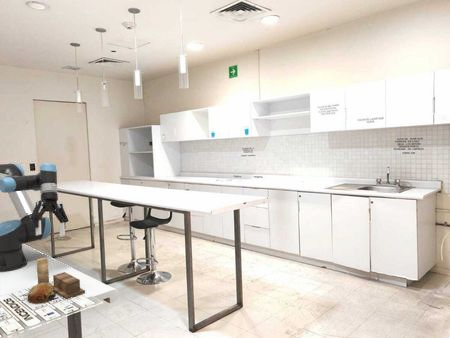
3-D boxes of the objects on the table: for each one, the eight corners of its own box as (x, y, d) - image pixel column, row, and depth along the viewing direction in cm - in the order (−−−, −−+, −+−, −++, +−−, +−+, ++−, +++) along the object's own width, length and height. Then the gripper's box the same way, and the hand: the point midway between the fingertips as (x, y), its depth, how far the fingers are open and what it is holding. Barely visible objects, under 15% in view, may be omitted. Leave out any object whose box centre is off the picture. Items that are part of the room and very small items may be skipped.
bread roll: (51, 300, 148) (47, 282, 149) (61, 296, 142) (56, 277, 143) (26, 309, 140) (22, 289, 142) (36, 305, 134) (31, 285, 136)
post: (36, 286, 154) (34, 259, 153) (46, 282, 157) (45, 257, 156) (40, 288, 151) (38, 261, 150) (51, 285, 154) (49, 259, 154)
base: (49, 289, 150) (48, 275, 150) (67, 283, 156) (67, 270, 156) (65, 299, 140) (65, 285, 139) (85, 293, 146) (84, 279, 145)
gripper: (32, 187, 161) (33, 232, 155) (74, 194, 183) (76, 234, 177) (21, 191, 164) (21, 236, 157) (63, 198, 186) (65, 238, 179)
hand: (50, 235), depth 167 cm, fingers open, 13 cm apart
